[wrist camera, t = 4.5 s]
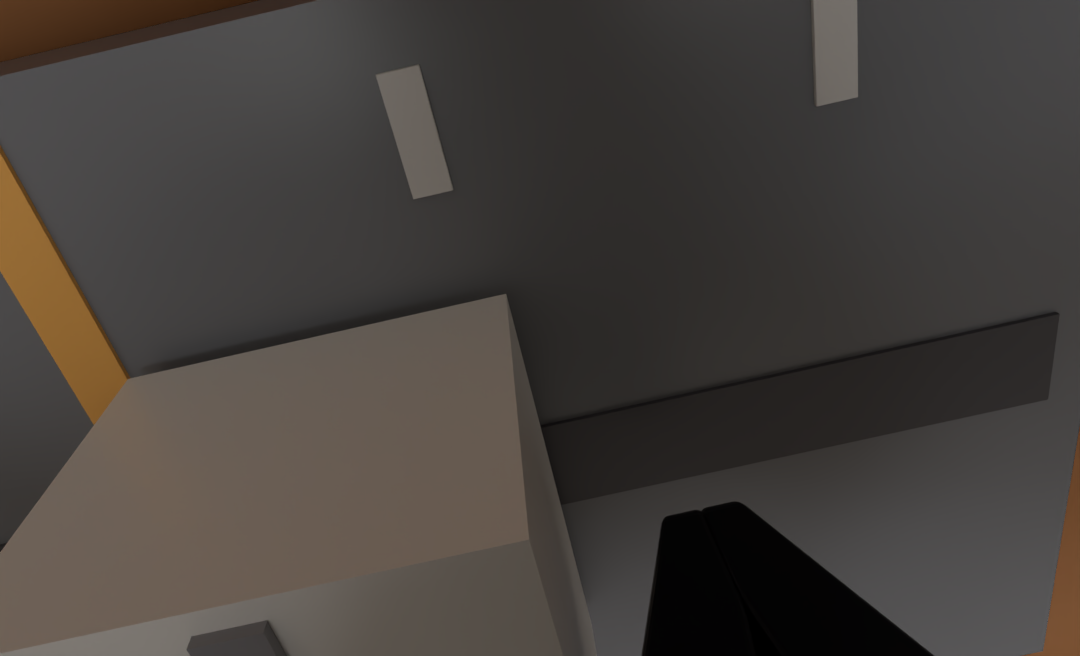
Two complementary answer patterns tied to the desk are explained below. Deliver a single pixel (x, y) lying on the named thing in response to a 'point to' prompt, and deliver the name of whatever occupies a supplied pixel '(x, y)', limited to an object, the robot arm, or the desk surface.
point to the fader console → (604, 258)
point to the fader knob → (309, 508)
